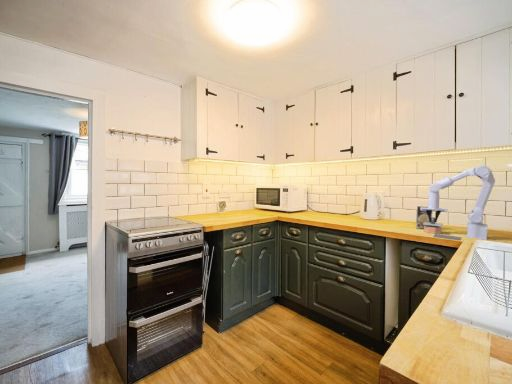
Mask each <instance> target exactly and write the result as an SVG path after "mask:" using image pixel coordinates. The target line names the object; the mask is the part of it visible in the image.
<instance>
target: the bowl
mask: <svg viewBox="0 0 512 384" xmlns="http://www.w3.org/2000/svg"><path fill="white" fill-rule="evenodd" d="M442 227H443V226H432V225H425V226H424V229H423V232H424V233H425V234H431V235H432V234H433V235H435V234H438V235H442Z"/></svg>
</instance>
